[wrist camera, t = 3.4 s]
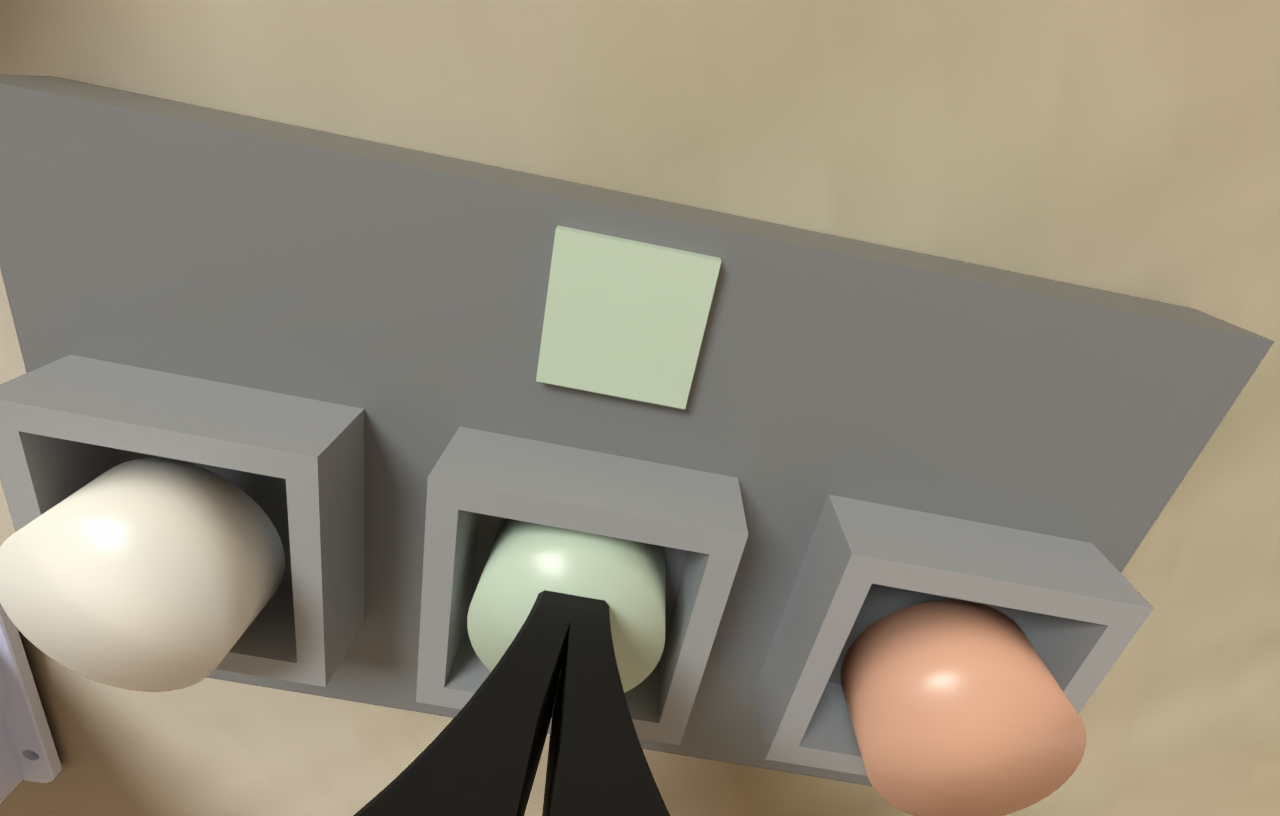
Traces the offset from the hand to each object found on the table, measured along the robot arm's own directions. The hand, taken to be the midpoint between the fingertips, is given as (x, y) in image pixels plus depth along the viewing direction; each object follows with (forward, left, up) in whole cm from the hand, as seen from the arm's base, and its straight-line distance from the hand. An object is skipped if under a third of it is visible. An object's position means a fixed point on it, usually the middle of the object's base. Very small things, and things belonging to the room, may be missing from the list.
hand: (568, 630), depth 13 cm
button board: (+1, 0, -4) cm, 4 cm away
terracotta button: (0, -8, -1) cm, 8 cm away
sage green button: (0, 0, -2) cm, 2 cm away
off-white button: (0, +8, -1) cm, 8 cm away
